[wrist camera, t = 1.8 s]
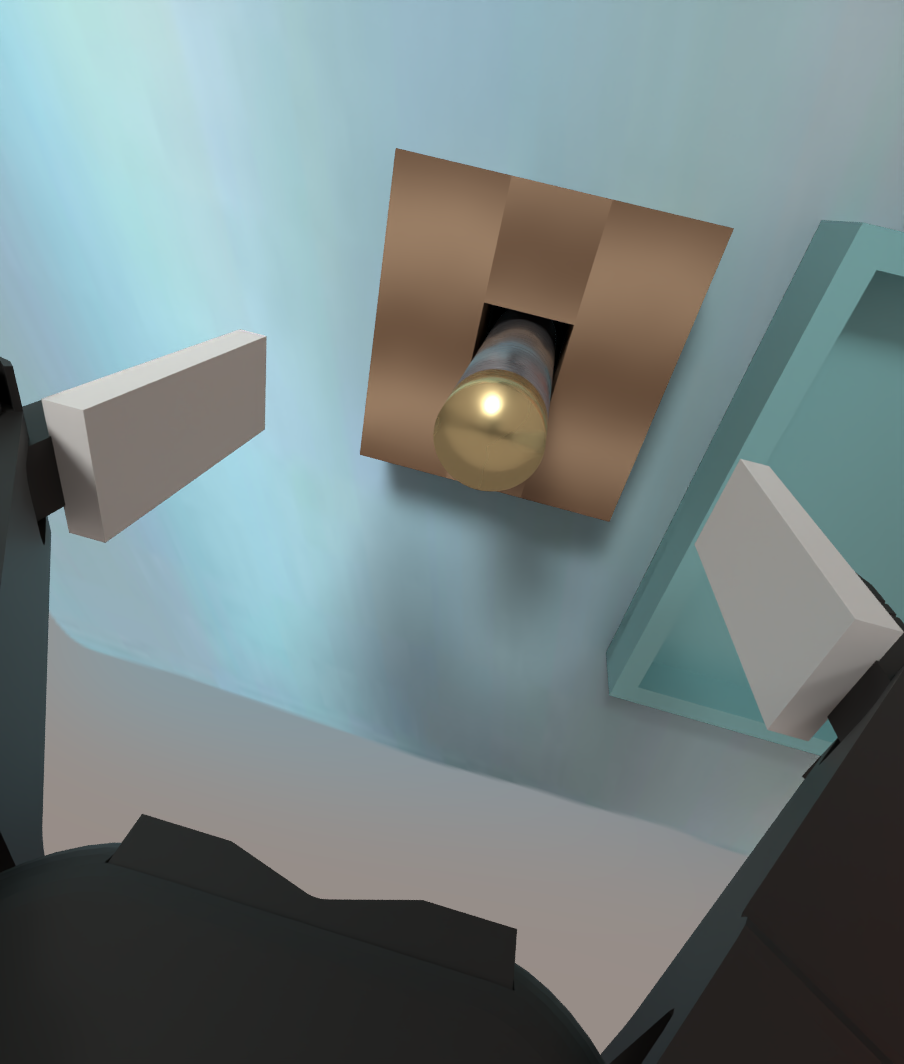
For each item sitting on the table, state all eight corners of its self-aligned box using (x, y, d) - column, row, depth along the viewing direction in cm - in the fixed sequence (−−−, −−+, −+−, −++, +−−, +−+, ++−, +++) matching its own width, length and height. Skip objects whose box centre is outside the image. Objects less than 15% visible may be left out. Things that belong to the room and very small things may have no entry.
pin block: (422, 156, 22) (395, 147, 19) (708, 224, 22) (733, 228, 18) (384, 425, 29) (359, 454, 25) (604, 483, 28) (609, 521, 25)
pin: (500, 297, 25) (444, 370, 14) (564, 313, 24) (560, 401, 13) (485, 363, 26) (424, 475, 15) (545, 378, 26) (528, 503, 15)
